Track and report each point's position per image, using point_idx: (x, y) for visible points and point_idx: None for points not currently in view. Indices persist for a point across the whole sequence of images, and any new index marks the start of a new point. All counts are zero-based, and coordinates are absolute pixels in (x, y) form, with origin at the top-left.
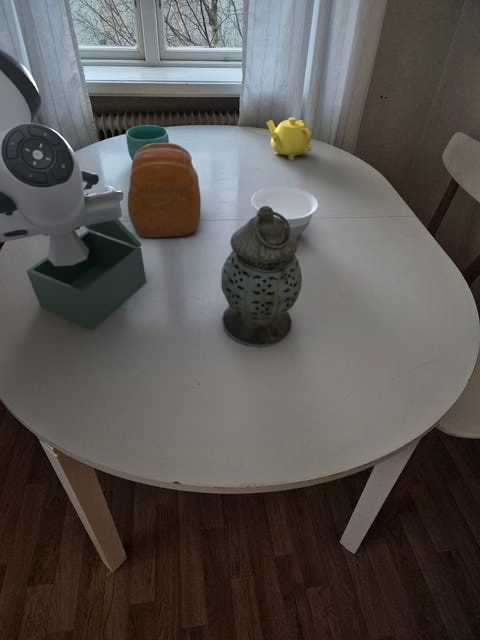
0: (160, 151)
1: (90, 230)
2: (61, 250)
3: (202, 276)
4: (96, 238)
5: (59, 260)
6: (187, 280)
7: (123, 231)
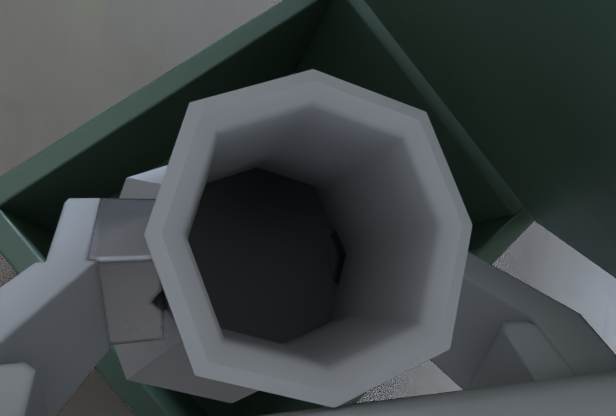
0: None
1: None
2: (197, 376)
3: (596, 272)
4: (354, 31)
5: (162, 381)
6: (552, 276)
7: (593, 259)
